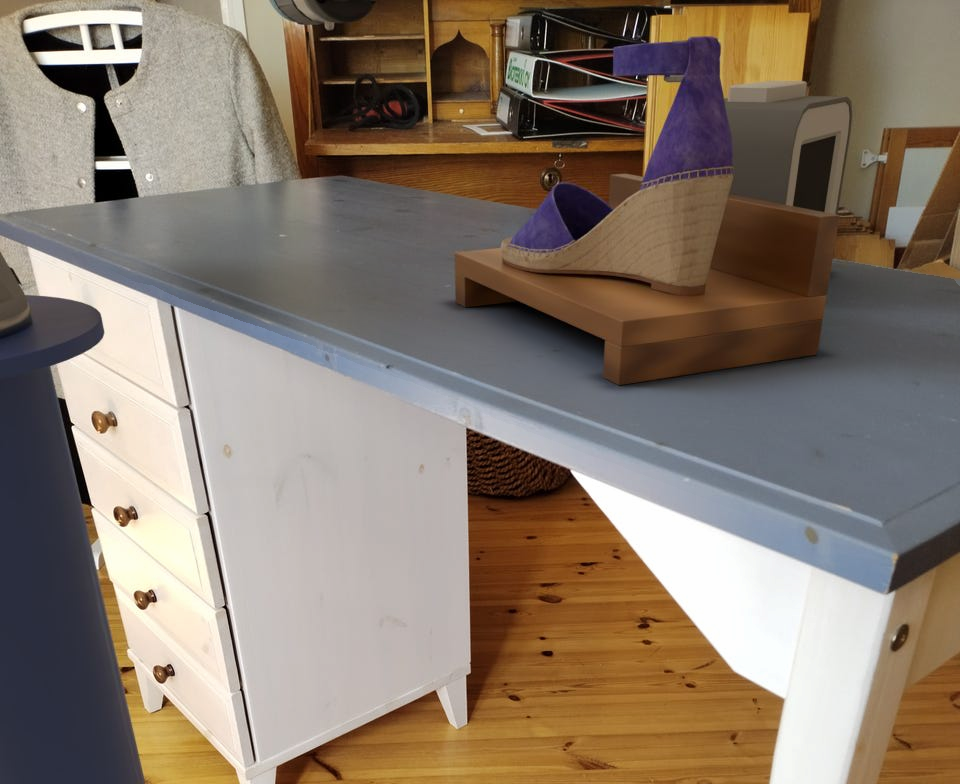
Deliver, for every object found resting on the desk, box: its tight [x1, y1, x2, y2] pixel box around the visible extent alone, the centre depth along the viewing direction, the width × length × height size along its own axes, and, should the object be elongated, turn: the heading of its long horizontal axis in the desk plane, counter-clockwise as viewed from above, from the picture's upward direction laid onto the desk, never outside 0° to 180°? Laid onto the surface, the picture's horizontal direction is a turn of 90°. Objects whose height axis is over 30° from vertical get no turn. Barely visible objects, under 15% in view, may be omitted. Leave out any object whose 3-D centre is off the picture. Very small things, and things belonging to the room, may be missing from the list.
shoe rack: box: [454, 173, 841, 386], centre depth 75 cm, size 16×26×9 cm, turn 25°
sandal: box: [500, 35, 733, 296], centre depth 71 cm, size 8×20×15 cm, turn 32°
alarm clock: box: [724, 80, 853, 215], centre depth 87 cm, size 16×11×16 cm
